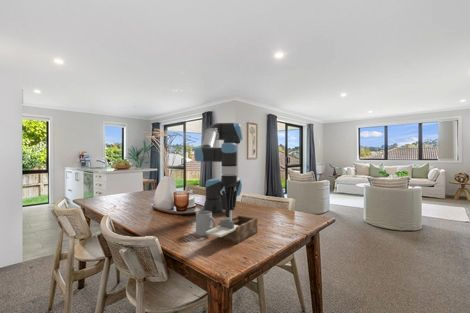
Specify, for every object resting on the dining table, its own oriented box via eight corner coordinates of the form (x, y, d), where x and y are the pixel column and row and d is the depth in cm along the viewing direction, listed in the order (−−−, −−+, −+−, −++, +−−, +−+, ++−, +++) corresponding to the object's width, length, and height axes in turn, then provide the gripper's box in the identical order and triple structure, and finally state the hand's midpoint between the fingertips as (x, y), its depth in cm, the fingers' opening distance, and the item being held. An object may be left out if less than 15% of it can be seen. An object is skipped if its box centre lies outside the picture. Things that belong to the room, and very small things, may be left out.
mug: (192, 233, 120) (192, 212, 120) (203, 229, 127) (203, 209, 127) (209, 238, 113) (209, 216, 113) (220, 233, 120) (220, 213, 120)
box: (238, 228, 129) (238, 215, 129) (257, 232, 122) (257, 218, 122) (218, 238, 114) (218, 223, 114) (238, 243, 107) (238, 227, 107)
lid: (226, 224, 116) (226, 216, 116) (240, 227, 111) (240, 219, 111) (205, 233, 104) (205, 224, 103) (220, 237, 99) (220, 228, 99)
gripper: (230, 173, 118) (230, 219, 118) (214, 175, 107) (214, 225, 108) (242, 174, 114) (242, 221, 114) (227, 176, 103) (227, 228, 103)
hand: (229, 223), depth 111 cm, fingers closed
